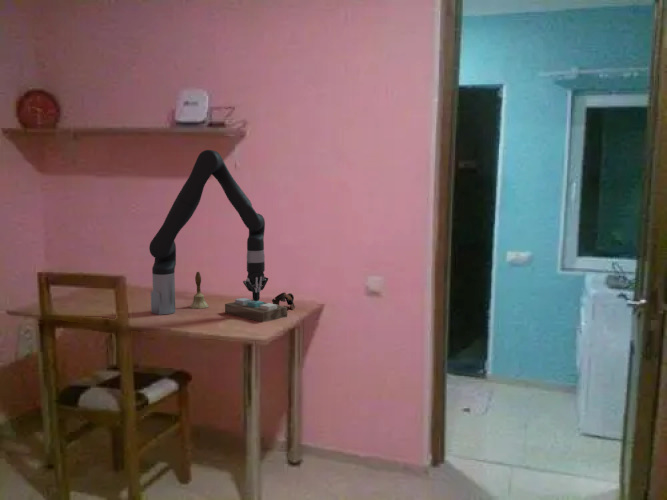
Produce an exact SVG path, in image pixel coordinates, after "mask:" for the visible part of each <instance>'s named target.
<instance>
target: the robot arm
mask: <svg viewBox="0 0 667 500" xmlns="http://www.w3.org/2000/svg"><path fill="white" fill-rule="evenodd" d="M211 176H213V178H215V180H216V181H217V182H218V183H219V185H220V186H221V189H222V190H223V192H224V195H225V196H226V198H227V200H228V201H229V203H230V204H231V205H232V207H233V209H235V210H236V212H237V214H238V215H239V217H240V219H241V221H242V222H243V224H244V226H245V227H246V228H247V229H248V237H247V241H246V248H247V249H246V250H247V251H246V272H247V276H246V277H247V278H246V279H245V280H243V281H242V283H243V285H244V286H245V288H246V289H247V290H248V292H251V294H252V300H254V301H260V295H261V294H260V293H261V292H262V291H263V290H264V289H265V287H266V285H267V283H268V281H269V278H268V277H266V276H265V273H264V272H265V270H266V269H265V267H266V266H265V265H266V264H265V262H266V261H265V258H266V257H265V242H264V239H265V238H264V237H265V227H266V226H265V225H266V223H265V218H264V216H263V215H262V214H260V213H259V212H258V213H257V212H256V211H255V209H254V208H253V205H252V202H251V200H250V198H249V197H248V196H247V194H245V192H244V191H243V189H242V188H241V187H240V186H239V184H238V183H237V182H236V180H235V179H234V177H233V175H232V174H231V173H230V170H229V169H228V167H227V165H226V163H225V160H224V159H223V156H222V155H221V154H220V152H218V151H216V150H213V149H205V150H202V151H201V152H200V153H199V154H198V156H197V158H196V161H195V163H194V165H193V168H192V170H191V172H190V175H189V177H188V178H187V180H186V181H185V182H184V184H183V186H182V188H181V190H180V191H179V193H178V194H177V196H176V198H175V199H174V201H173V204H172V205H171V207H170V209H169V211H168V213H167V215H166V216H165V218H164V221H163V223H162V225H161V227H160V229H158V231H157V233H156V234H155V235H154V237H153V239H151V241H150V243H149V246H148V247H149V253H150V254H151V256H152V257H153V258H154V263H153V266H152V268H151V270H152V290H151V291H150V305H151V306H150V308H151V309H150V311H151V313H152V314H155V315H159V316H160V315H172V314H174V313H176V283H175V282H176V278H175V277H176V275H175V274H176V272H175V270H176V269H175V268H176V265H177V264H176V263H177V247H176V241H175V240H176V238H177V237H178V235H179V233H180V231H181V230H182V229H183V228H184V226H185V225H186V224H187V223H188V222H189V221H190V220H191V218H192V217H193V215H194V214H195V212H196V210H197V208H198V206H199V204H200V202H201V198H202V196H203V191H204V188H205V187H206V184H207V182H208V180H209V179H210V177H211Z"/></svg>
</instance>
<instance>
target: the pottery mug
mask: <svg viewBox="0 0 667 500" xmlns="http://www.w3.org/2000/svg"><path fill="white" fill-rule="evenodd" d="M294 298H295V297H294V295H293V293H287V292H286V291H285V292H282V293H279V294H278V295H276V296H275V297H274V298H273V299H272V300H271V301H272V304H276V305H280V302H283V303H287V306H289V307H290V310H291V311H293V310H294V309H295V308H296V306H295V303H294Z"/></svg>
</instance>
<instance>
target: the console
mask: <svg viewBox="0 0 667 500" xmlns="http://www.w3.org/2000/svg"><path fill="white" fill-rule="evenodd" d="M252 301H254V300H253V299H252ZM263 302H264V304H267V303H268V302H265V301H263ZM224 314H228V315H232V316H235V317H240V318H243V319H248V320H252V321H256V322H260V323H267V322H270V321H274V320H277V319H281V318H286V317H288V307H287V306H285V305H284V306H283V305H280V304H279V305H278V304H277V309H274V310H269V311H268V310H263V309H260V307H256V308H254V307H250V306H248V304H245V305H241V304H237V303H235V301H233V302H228V303H225V304H224Z"/></svg>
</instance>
